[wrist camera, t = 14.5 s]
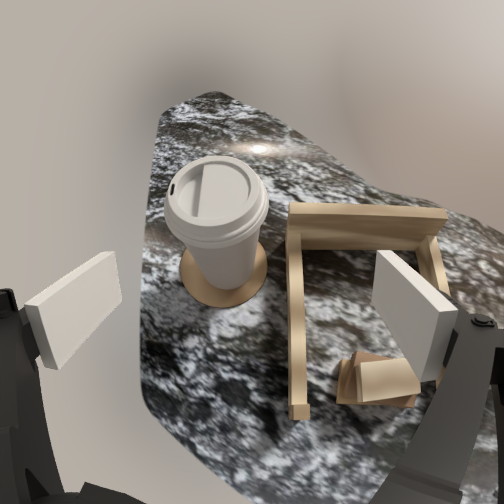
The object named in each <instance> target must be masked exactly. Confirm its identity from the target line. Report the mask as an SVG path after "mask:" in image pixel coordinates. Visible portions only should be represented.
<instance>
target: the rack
mask: <svg viewBox="0 0 504 504" xmlns="http://www.w3.org/2000/svg"><path fill="white" fill-rule="evenodd" d="M447 220H448V216H447V213H446V210H445V209H441V208H426V207H409V206H390V205H368V204H340V203H291V202H289V211H288V220H287V229H286V237H285V247H286V277H287V316H288V419H291V420H308V419H310V404H307V374H306V335H305V308H304V287H303V268H302V251H301V250H415V252H416V257H417V261H418V266H419V270H420V275H421V276H422V277H423V278H424V279H425V280H426V281H427V282H429V283H430V284H431V285H432V286H433V287H434V288H435V289H439V290H441V291H443V292H445V293H447V294H448V295H449V296H450V292H449V287H448V283H447V278H446V274H445V270H444V266H443V262H442V258H441V254H440V250H439V246H438V243H437V239H436V234H437V233H438V232H439V231H440V229H441V228H442V227H443V225H444V224H445V223H446V221H447ZM444 372H445V367H444V366H442V369H441V372H440V375H439V378H438V379H437V380H436V390H437V388H438V386H439V383H440V381H441V379H442V376H443V374H444Z"/></svg>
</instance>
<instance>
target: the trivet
mask: <svg viewBox="0 0 504 504" xmlns="http://www.w3.org/2000/svg"><path fill="white" fill-rule="evenodd" d="M180 273H181V278H182V281H183V284H184V286H185V288H186V289H187V291H188V292H189V293H190V294H191V295H192V297H194V298H195V299H196V300H197V301H199V302H201V303H203V304H205V305H208V306H212V307H218V308H226V307H233V306H236V305H239V304H242V303H244V302H246V301H247V300H249V299H250V298H252V297H253V296H254V295H255V294H256V293H257V292H258V291H259V289H260V288H261V286H262V285H263V283H264V281H265V278H266V274H267V258H266V254H265V251H264V249H263V247H262V246H261V244H260V243H259V242H258V244H257V250H256V257H255V263H254V270H253V273H252V275H251V277H250V279H249V280H248V281H247V282H246V283H245V284H243V285H242V286H240V287H238V288H235V289H230V290H224V289H219V288H216V287H214V286H212V285H211V284H210V283H209V282H208V281H207V280H206V279H205V277H204V275H203V274H202V272H201V270H200V269H199V267H198V266H197V264H196V262H195V261H194V259H193V257H192V256H191V254H190V252H189V251H188V249H186V250H185V252H184V254H183V257H182V260H181V266H180Z"/></svg>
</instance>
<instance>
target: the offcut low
mask: <svg viewBox="0 0 504 504" xmlns="http://www.w3.org/2000/svg"><path fill="white" fill-rule="evenodd" d="M350 362H351V360H345V359H342V360H341V361H340V365H339V377H338V388H337V399H336V404H357V405H381V404H375V403H370V402H358V403H357V400H354V399H349V398H344V397H342V395H343V391H344V387H345V383H346V379H347V375H348V371H349V366H350Z"/></svg>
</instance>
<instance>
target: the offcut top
mask: <svg viewBox="0 0 504 504" xmlns="http://www.w3.org/2000/svg"><path fill="white" fill-rule="evenodd" d="M355 369H356V385H357V403H358V402H366V401H374V400H381V399H388V398H394V397H400V396H406V395H412V394H417V393H421V387H420V382H419V380H418V378H417V376H416V375H415V373H414V371H413V370H412V368H411V366H410V364H409V363H408V361H407V359H406V358H398V359H390V360H382V361H373V362H363V363H359V364H357V365H355Z"/></svg>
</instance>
